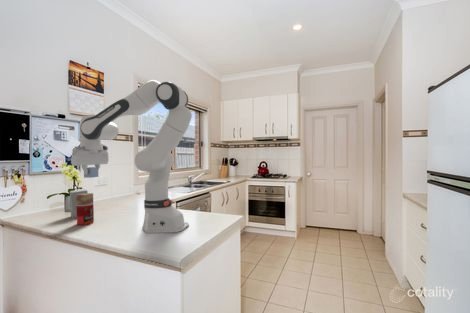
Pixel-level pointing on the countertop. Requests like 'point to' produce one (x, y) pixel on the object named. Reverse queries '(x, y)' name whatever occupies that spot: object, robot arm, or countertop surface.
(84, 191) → the skincare box
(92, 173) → the slate block
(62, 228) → the countertop surface
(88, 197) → the walnut block
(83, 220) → the canned food
